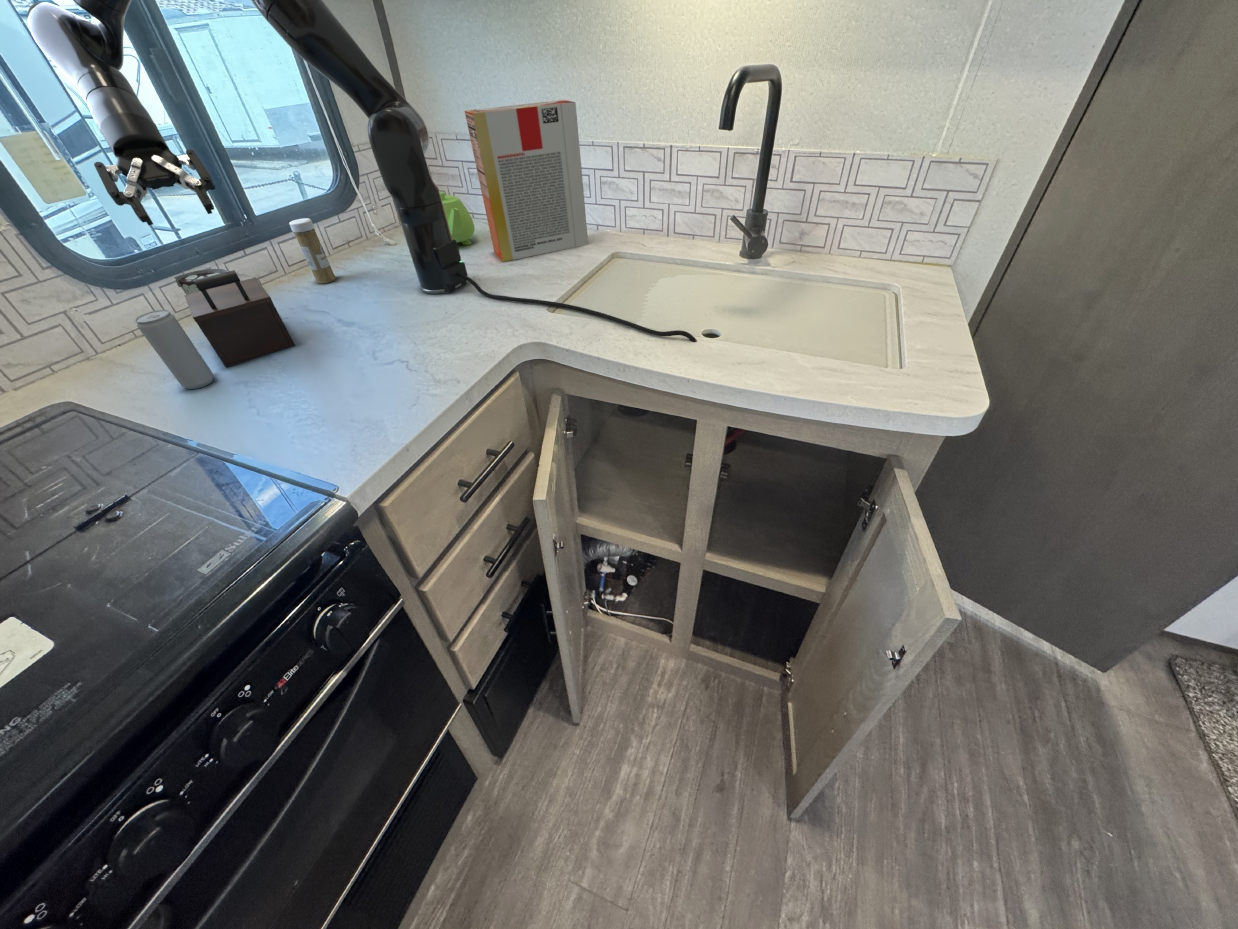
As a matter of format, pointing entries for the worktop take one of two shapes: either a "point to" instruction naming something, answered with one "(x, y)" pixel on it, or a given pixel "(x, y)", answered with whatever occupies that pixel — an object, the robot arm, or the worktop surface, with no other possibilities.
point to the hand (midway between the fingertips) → (179, 216)
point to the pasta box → (530, 177)
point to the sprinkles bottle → (312, 250)
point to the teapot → (458, 219)
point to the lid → (224, 295)
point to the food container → (187, 279)
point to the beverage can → (175, 348)
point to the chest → (246, 333)
